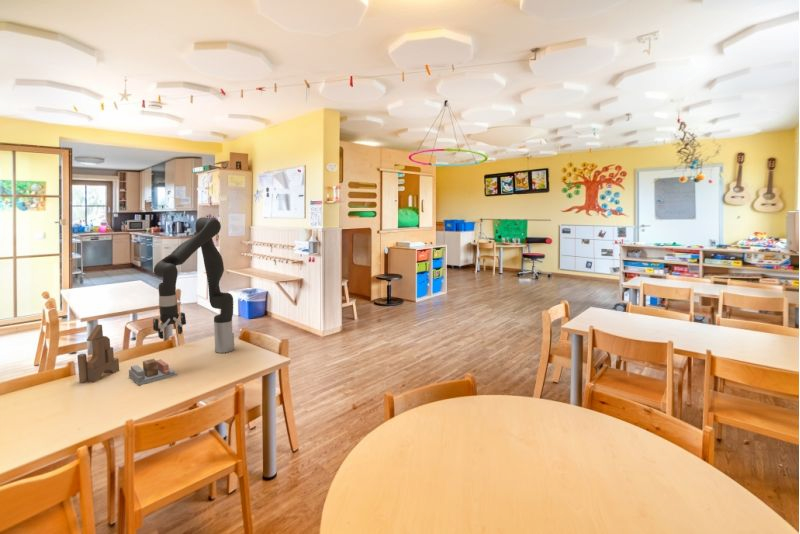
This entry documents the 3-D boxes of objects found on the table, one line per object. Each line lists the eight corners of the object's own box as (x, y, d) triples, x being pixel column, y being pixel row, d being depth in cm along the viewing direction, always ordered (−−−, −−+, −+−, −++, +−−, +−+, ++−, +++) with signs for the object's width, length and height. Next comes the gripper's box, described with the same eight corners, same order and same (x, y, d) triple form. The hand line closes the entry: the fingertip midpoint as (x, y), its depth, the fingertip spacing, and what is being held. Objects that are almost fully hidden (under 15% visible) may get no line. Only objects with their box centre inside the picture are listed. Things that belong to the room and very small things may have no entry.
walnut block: (154, 371, 189) (153, 358, 188) (158, 374, 186) (157, 361, 185) (143, 374, 186) (142, 361, 185) (147, 377, 182) (146, 364, 182)
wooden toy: (107, 369, 193) (103, 319, 189) (119, 370, 192) (116, 320, 188) (77, 382, 177) (73, 329, 174) (90, 384, 176) (86, 329, 173)
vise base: (166, 367, 197) (165, 356, 196) (177, 375, 188) (176, 364, 188) (128, 376, 185) (128, 365, 184) (139, 385, 176) (138, 373, 175)
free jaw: (159, 366, 195) (159, 358, 194) (170, 374, 186) (169, 365, 186) (155, 367, 193) (154, 359, 192) (165, 375, 185) (165, 366, 184)
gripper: (156, 308, 181) (159, 341, 184) (187, 302, 193) (189, 333, 196) (148, 305, 186) (151, 338, 188) (179, 299, 197) (181, 330, 200)
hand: (170, 336), depth 192 cm, fingers open, 8 cm apart
